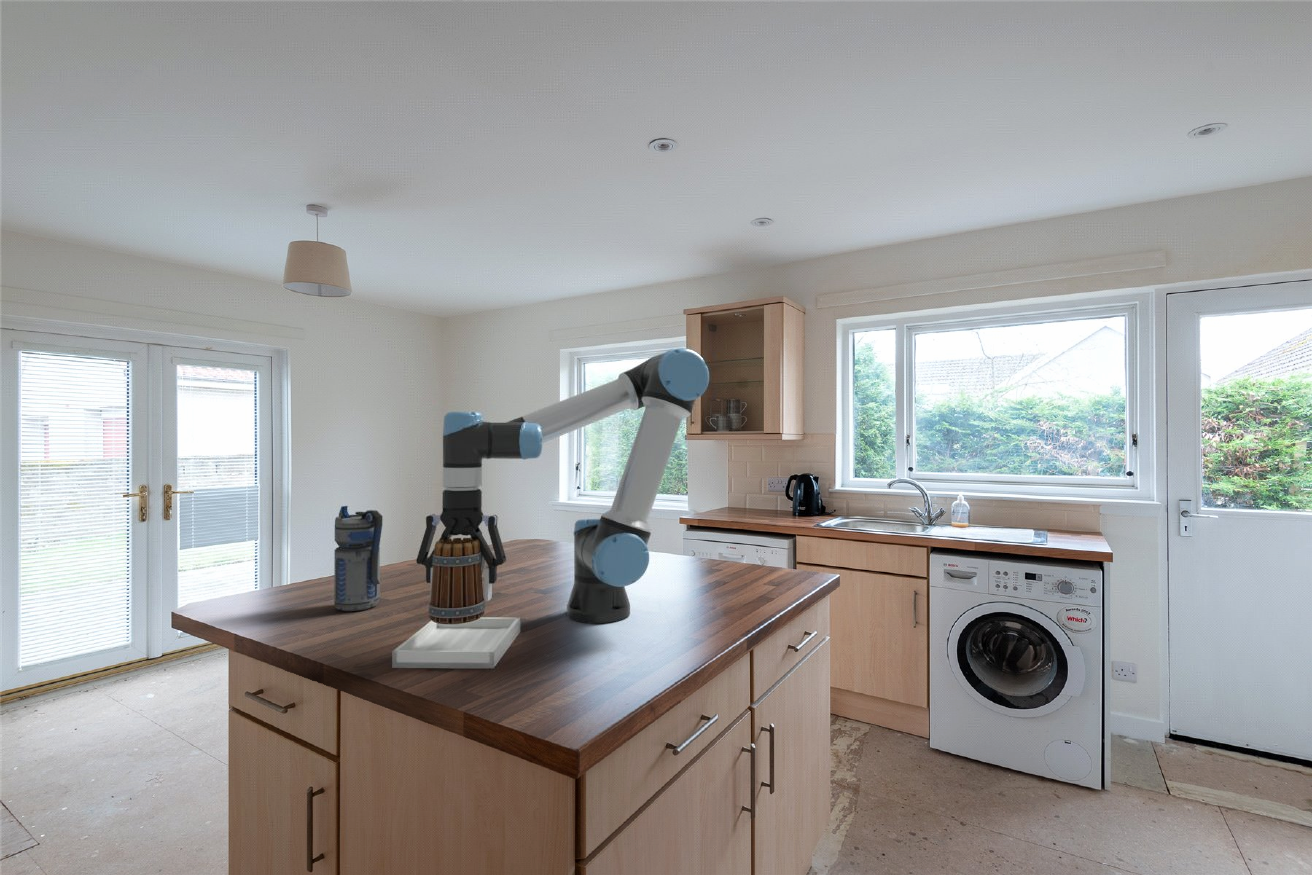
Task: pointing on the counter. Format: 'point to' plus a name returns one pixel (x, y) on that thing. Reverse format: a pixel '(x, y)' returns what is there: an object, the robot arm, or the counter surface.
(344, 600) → the grey blue grenade canister
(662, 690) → the counter surface
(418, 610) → the counter surface
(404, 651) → the white tray
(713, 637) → the counter surface
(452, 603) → the mug
